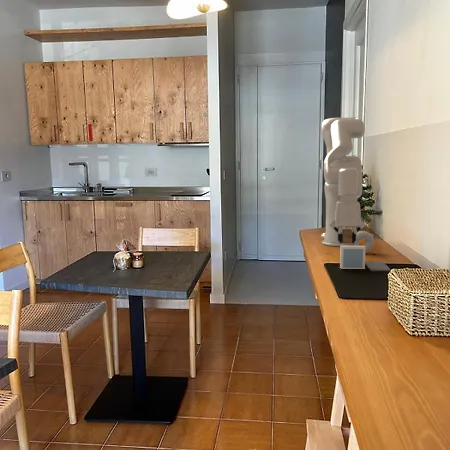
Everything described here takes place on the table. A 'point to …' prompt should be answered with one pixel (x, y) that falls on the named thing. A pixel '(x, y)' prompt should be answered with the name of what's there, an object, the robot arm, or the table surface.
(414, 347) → the table surface
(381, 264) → the mat
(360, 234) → the donut
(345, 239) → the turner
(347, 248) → the tile
